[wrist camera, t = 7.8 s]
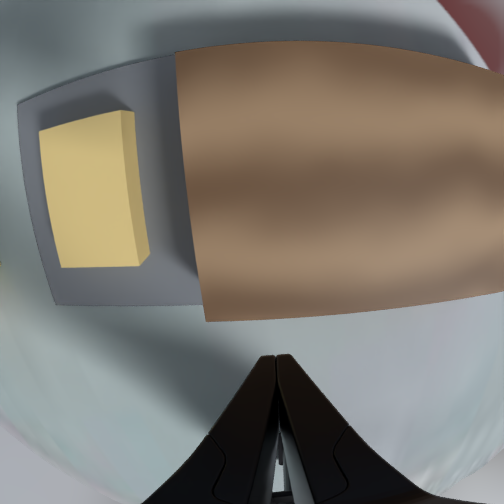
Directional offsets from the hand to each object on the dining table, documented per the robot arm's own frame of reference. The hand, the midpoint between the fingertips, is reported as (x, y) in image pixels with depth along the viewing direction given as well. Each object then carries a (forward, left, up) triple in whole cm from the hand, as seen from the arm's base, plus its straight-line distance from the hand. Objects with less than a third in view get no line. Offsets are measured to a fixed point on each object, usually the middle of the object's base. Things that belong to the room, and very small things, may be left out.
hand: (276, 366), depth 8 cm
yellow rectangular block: (+4, +11, -9) cm, 14 cm away
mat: (+4, +11, -12) cm, 16 cm away
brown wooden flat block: (+4, -6, -12) cm, 14 cm away
